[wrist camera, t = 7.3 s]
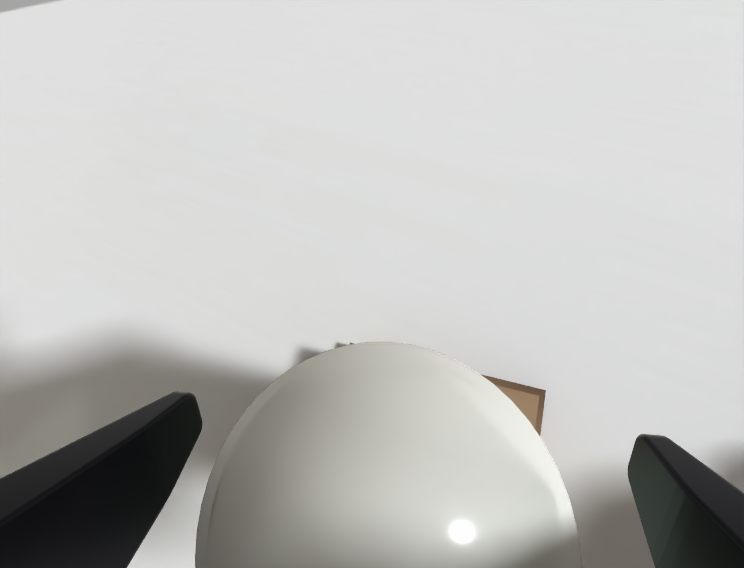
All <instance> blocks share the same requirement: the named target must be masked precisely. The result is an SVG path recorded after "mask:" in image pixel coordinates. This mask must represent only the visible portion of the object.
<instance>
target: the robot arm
mask: <svg viewBox="0 0 744 568" xmlns="http://www.w3.org/2000/svg"><path fill="white" fill-rule="evenodd" d="M201 429H202V418H201V415H200V411H199V408H198V404H197V400H196V397H195V396H194V395H193V394H192V393H189V392H173V393H171V394H169V395H167V396H165V397H163V398H161V399H159V400H157V401H155V402H153V403H151V404H149V405H147V406H145V407H143V408H141V409H139V410H137V411H135V412H133V413H131V414H129V415H127V416H125V417H123V418H121V419H119V420H117V421H115V422H113V423H111V424H109V425H107V426H105V427H103V428H101V429H99V430H97V431H95V432H93V433H91V434H89V435H87V436H85V437H83V438H81V439H79V440H77V441H75V442H73V443H71V444H69V445H67V446H65V447H63V448H61V449H59V450H57V451H55V452H53V453H51V454H49V455H47V456H45V457H43V458H41V459H39V460H37V461H35V462H33V463H31V464H29V465H27V466H25V467H23V468H21V469H19V470H17V471H15V472H13V473H11V474H9V475H7V476H5V477H3V478H1V479H0V568H127V566H128V565H129V563H130V561H131V560H132V558H133V556H134V555H135V553H136V551H137V550H138V548H139V546H140V545H141V543H142V542H143V540H144V538H145V537H146V535H147V533H148V532H149V530H150V528H151V527H152V525H153V523H154V522H155V520H156V518H157V517H158V515H159V513H160V512H161V510H162V508H163V506H164V505H165V503H166V501H167V499H168V498H169V496H170V494H171V492H172V490H173V488H174V486H175V484H176V482H177V480H178V478H179V476H180V474H181V472H182V470H183V467H184V465H185V463H186V461H187V459H188V457H189V455H190V453H191V451H192V449H193V447H194V445H195V443H196V441H197V439H198V437H199V435H200V432H201ZM628 478H629V482H630V485H631V489H632V492H633V495H634V499H635V502H636V505H637V509H638V512H639V515H640V519H641V522H642V525H643V529H644V532H645V535H646V539H647V542H648V545H649V549H650V552H651V555H652V558H653V562H654V565H655V568H744V493H743V492H741V491H740V490H739V489H737V488H736V487H735V486H733V485H732V484H730V483H729V482H728V481H726V480H725V479H724V478H722V477H721V476H720V475H718V474H717V473H715V472H714V471H713V470H711V469H710V468H709V467H707V466H706V465H704V464H703V463H702V462H700V461H699V460H698V459H696V458H695V457H693V456H692V455H691V454H689V453H688V452H687V451H685V450H684V449H683V448H681V447H680V446H678V445H677V444H676V443H674V442H673V441H672V440H670V439H669V438H667V437H665V436H660V435H649V434H641V435H639V436H638V437H637V439H636V441H635V444H634V448H633V451H632V455H631V458H630V461H629V465H628Z"/></svg>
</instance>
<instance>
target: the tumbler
mask: <svg viewBox="0 0 744 568" xmlns="http://www.w3.org/2000/svg"><path fill="white" fill-rule="evenodd" d="M195 568H582V558H581V551H580V544H579V537H578V530H577V525H576V522H575V518H574V514H573V510H572V506H571V502H570V499H569V496H568V493H567V491H566V488H565V486H564V483H563V480H562V478H561V475H560V472H559V470H558V468H557V466H556V464H555V462H554V460H553V458H552V457H551V455H550V453H549V451H548V449H547V447H546V445H545V443H544V442H543V441H542V439H541V438H540V436H539V435H538V433H537V432H536V430H535V429H534V427H533V426H532V424H531V423H530V421H529V420H528V419H527V418H526V417H525V415H524V414H523V413H522V412H521V411H520V410H519V408H518V407H517V406H516V405H515V404H514V403H513V401H512V400H510V399H509V398H508V397H507V396H506V395H505V394H504V393H503V392H502V391H501V390H500V389H499V388H497V387H496V386H495V385H494V384H493V383H492V382H490V381H489V380H487V379H486V378H485V377H483V376H482V375H481V374H479V373H478V372H476V371H475V370H474V369H472V368H470V367H468V366H466V365H464V364H463V363H461V362H459V361H457V360H455V359H454V358H451V357H449V356H446V355H444V354H441V353H439V352H436V351H434V350H430V349H426V348H423V347H419V346H415V345H411V344H403V343H395V342H366V343H358V344H351V345H346V346H342V347H339V348H335V349H331V350H328V351H325V352H323V353H320V354H318V355H316V356H313V357H311V358H309V359H307V360H305V361H303V362H301V363H300V364H298V365H296V366H294V367H293V368H291V369H289V370H288V371H287V372H285V373H284V374H283V375H281V376H280V377H279V378H277V379H276V380H275V381H273V382H272V383H271V384H270V385H269V386H268V387H267V388H266V389H265V390H264V391H263V392H262V393H260V394H259V395H258V396H257V397H256V399H255V400H254V401H253V402H252V403H251V404H250V406H249V407H248V408H247V409H246V410H245V412H244V413H243V414H242V415H241V417H240V418H239V420H238V421H237V423H236V424H235V426H234V427H233V429H232V430H231V432H230V433H229V435H228V437H227V439H226V441H225V443H224V445H223V447H222V448H221V450H220V452H219V454H218V456H217V459H216V461H215V464H214V466H213V469H212V472H211V474H210V477H209V479H208V483H207V486H206V490H205V494H204V497H203V501H202V504H201V510H200V516H199V522H198V528H197V538H196V553H195Z"/></svg>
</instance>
